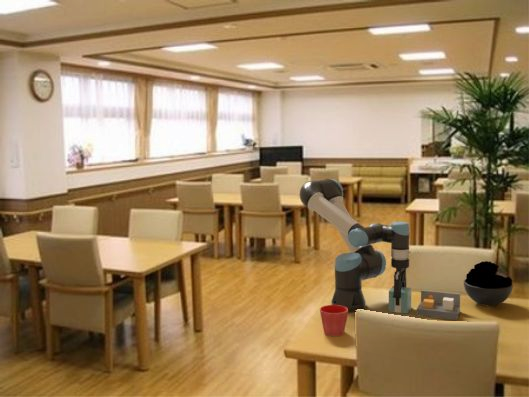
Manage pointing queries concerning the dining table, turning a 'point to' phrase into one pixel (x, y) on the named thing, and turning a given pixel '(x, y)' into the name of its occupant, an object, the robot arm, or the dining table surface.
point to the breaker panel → (439, 305)
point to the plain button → (448, 303)
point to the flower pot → (334, 319)
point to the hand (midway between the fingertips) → (400, 309)
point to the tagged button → (428, 303)
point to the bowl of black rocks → (487, 284)
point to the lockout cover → (404, 300)
